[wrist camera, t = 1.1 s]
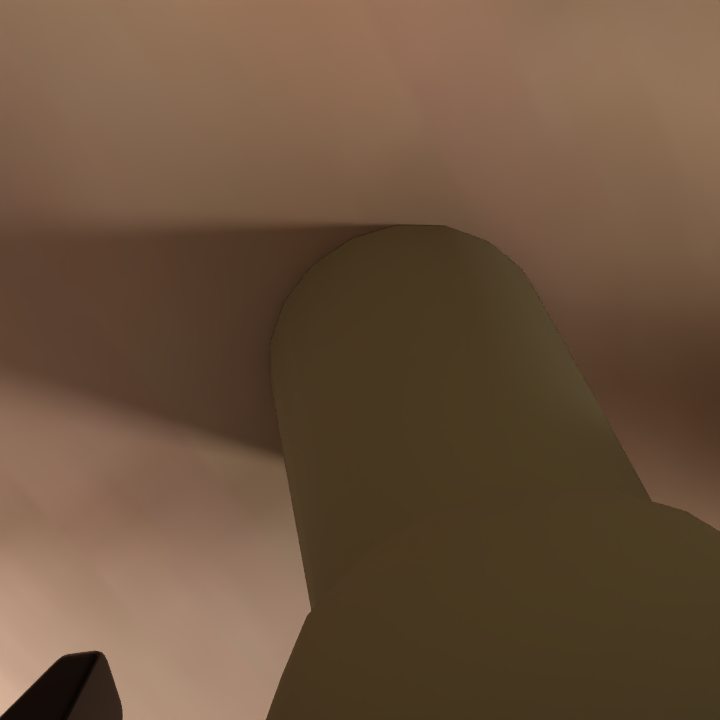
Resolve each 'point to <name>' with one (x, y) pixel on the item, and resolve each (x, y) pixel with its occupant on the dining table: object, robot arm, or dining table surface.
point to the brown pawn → (472, 507)
